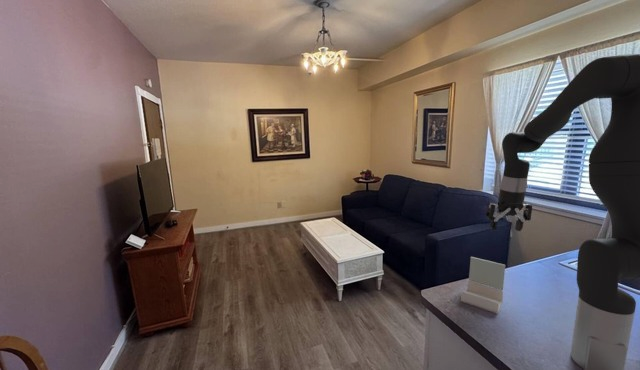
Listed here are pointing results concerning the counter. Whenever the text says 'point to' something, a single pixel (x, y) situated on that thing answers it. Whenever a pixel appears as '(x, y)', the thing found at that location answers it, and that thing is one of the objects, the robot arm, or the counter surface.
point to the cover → (487, 273)
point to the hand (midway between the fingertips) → (505, 230)
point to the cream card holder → (482, 297)
